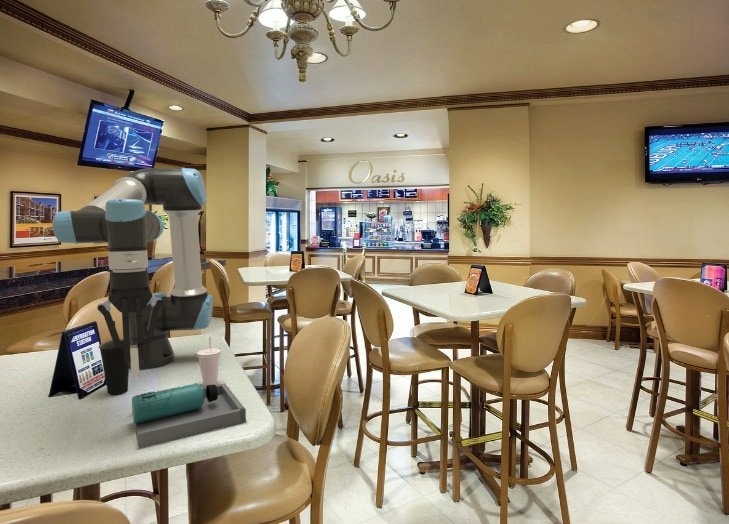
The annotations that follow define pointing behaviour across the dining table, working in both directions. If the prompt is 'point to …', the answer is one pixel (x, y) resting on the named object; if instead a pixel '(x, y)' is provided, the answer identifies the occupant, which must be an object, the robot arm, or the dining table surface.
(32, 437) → the dining table surface
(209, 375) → the smoothie
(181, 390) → the beverage bottle
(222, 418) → the charcoal tray
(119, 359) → the drinking cup
